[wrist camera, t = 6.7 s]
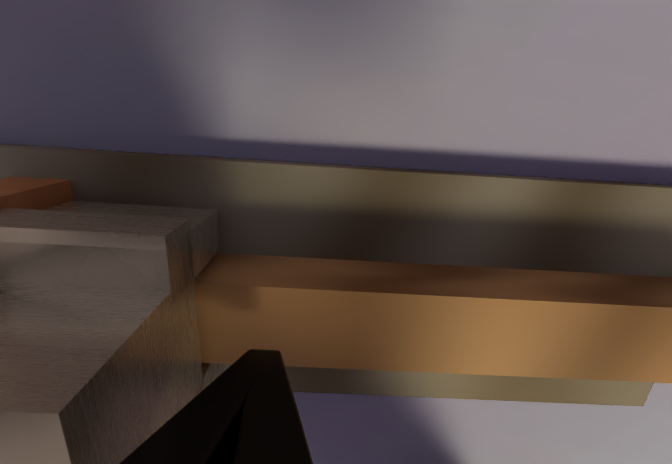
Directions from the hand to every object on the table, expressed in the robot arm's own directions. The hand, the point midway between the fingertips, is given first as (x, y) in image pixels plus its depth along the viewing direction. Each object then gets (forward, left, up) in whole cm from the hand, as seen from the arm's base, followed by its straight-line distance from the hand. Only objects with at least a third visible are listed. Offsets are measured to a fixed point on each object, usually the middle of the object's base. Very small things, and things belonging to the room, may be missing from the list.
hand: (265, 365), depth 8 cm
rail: (-2, 0, -4) cm, 4 cm away
